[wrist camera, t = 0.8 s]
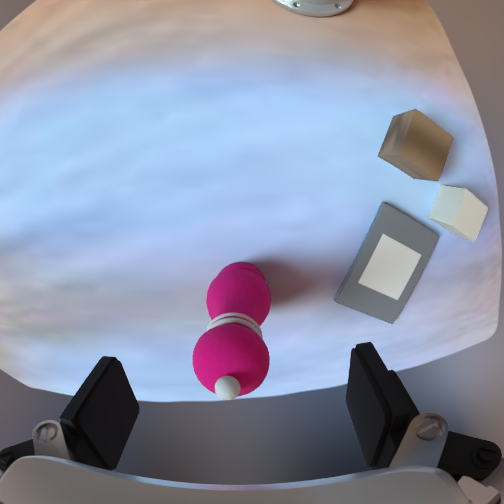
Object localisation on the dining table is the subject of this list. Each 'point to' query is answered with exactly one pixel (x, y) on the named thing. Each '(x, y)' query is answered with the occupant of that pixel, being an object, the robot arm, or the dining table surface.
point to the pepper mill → (234, 333)
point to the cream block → (458, 212)
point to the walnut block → (416, 145)
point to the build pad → (387, 265)
